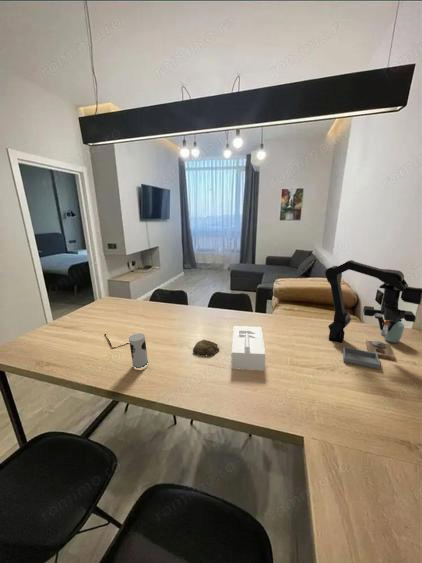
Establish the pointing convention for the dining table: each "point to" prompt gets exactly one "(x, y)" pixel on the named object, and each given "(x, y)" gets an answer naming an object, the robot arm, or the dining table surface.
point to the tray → (361, 358)
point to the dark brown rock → (205, 348)
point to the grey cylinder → (138, 350)
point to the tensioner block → (380, 349)
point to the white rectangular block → (248, 348)
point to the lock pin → (385, 327)
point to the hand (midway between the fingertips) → (384, 330)
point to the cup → (395, 333)
